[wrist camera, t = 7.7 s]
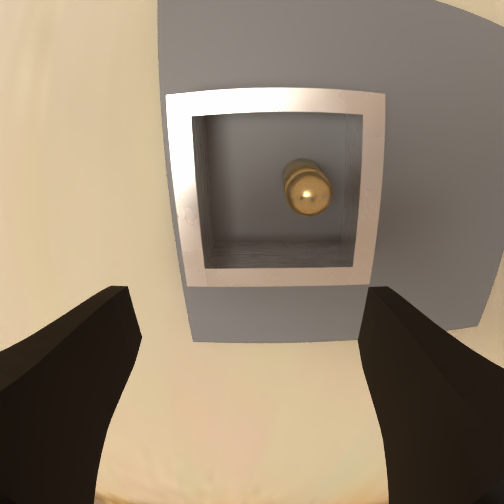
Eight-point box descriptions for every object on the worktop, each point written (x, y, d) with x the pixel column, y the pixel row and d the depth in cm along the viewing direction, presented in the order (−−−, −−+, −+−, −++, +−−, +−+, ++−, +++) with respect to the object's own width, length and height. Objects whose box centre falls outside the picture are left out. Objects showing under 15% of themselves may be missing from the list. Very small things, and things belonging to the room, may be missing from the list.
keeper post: (318, 155, 16) (337, 174, 12) (318, 192, 17) (335, 223, 12) (281, 155, 16) (286, 174, 12) (281, 192, 17) (286, 223, 13)
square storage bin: (364, 95, 14) (385, 93, 11) (355, 256, 18) (369, 284, 15) (184, 97, 14) (166, 95, 11) (198, 258, 18) (187, 286, 15)
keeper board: (512, 35, 11) (519, 34, 10) (473, 320, 20) (477, 325, 20) (162, -6, 12) (157, -11, 11) (195, 334, 22) (193, 341, 21)
